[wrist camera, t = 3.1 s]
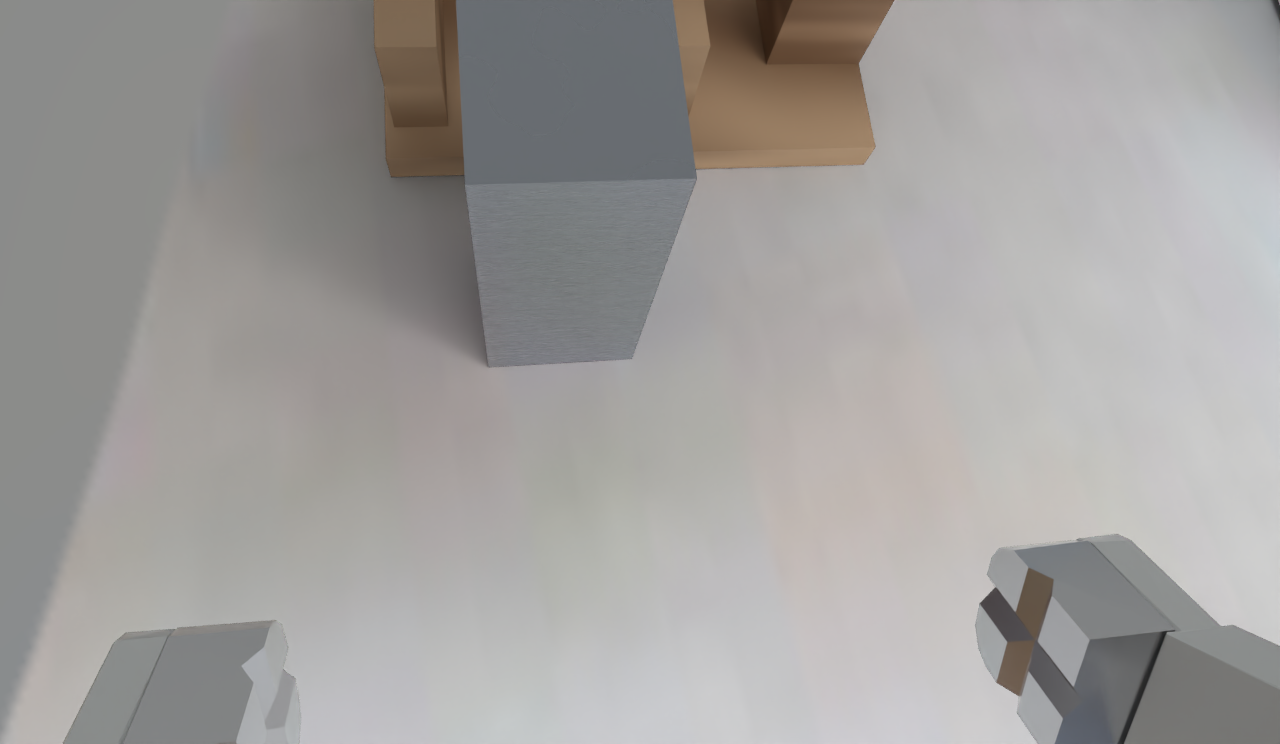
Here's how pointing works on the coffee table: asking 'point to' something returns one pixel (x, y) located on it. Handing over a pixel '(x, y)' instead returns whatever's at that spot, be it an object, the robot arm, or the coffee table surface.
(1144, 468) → the coffee table surface
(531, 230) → the grey block
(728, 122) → the twin post stand
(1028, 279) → the coffee table surface
